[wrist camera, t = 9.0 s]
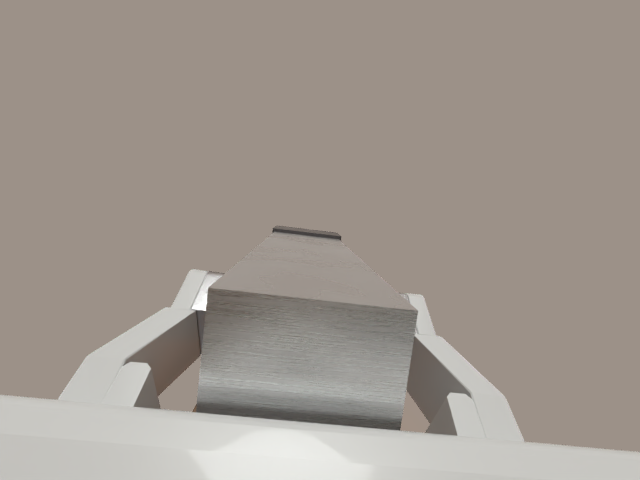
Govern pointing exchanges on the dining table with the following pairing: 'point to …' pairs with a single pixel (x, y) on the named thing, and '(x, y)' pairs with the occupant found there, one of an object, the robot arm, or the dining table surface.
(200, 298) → the robot arm
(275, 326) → the grey bar
